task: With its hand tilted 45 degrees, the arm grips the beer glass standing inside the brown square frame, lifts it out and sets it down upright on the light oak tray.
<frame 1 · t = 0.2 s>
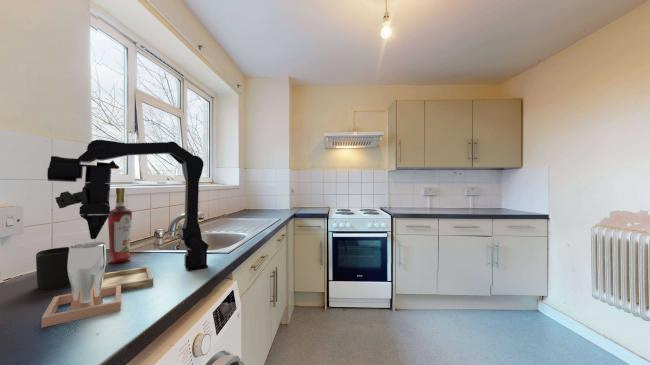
hand: (93, 236, 78), 14 cm above the counter, tool pointing down, fingers open, 9 cm apart
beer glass: (86, 308, 64), resting in brown square frame
brown square frame: (86, 307, 64), on the counter
tray: (123, 283, 79), on the counter
red and white bottle: (119, 262, 101), on the counter
pen holder: (59, 285, 78), on the counter
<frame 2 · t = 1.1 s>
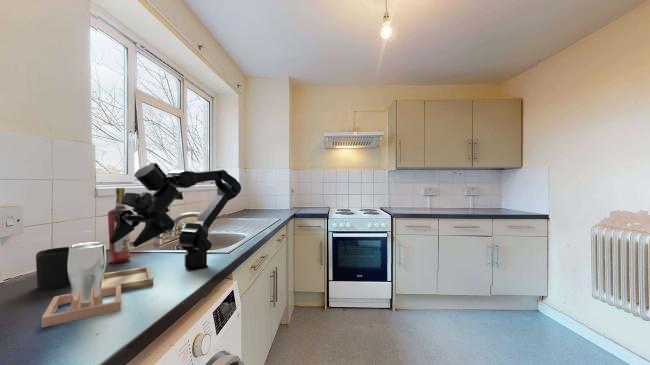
hand: (122, 244, 71), 13 cm above the counter, tool tilted 45°, fingers open, 9 cm apart
nothing on the counter moved.
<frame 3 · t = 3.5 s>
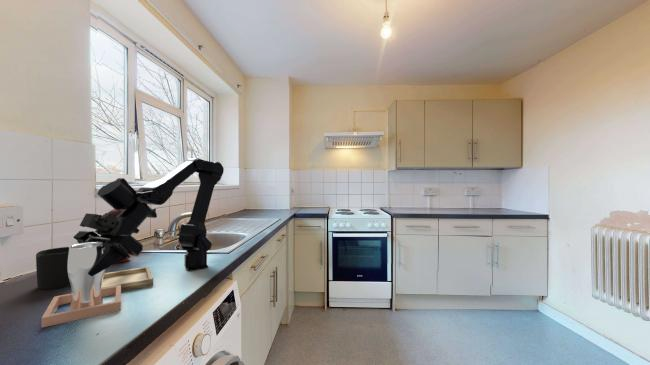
hand: (80, 273, 63), 9 cm above the counter, tool tilted 45°, fingers closed on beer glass, 7 cm apart
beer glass: (86, 308, 64), resting in brown square frame, touching gripper
everything else where it was.
when the fingers open (10 cm above the counter, at t = 7.1 s): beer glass stays where it is, resting on tray.
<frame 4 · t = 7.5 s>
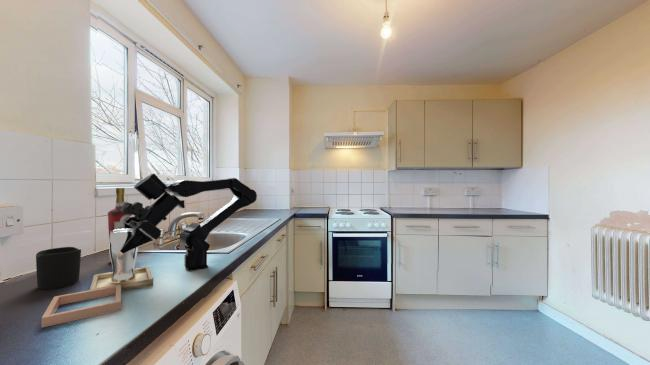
hand: (117, 249, 78), 10 cm above the counter, tool tilted 45°, fingers open, 9 cm apart
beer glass: (123, 280, 80), point 1 cm above the counter, touching tray
everything else where it was.
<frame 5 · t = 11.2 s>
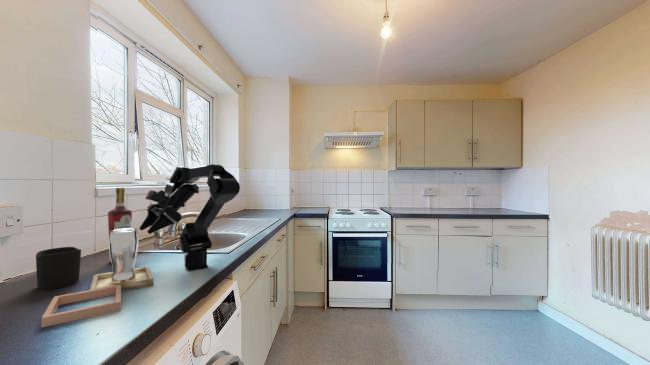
hand: (144, 231, 91), 14 cm above the counter, tool tilted 45°, fingers open, 9 cm apart
nothing on the counter moved.
at the end: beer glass inside the target area on the tray (0.3 cm from its centre), point 0.6 cm above the tray's base; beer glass tilted 0°; the gripper is holding nothing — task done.
